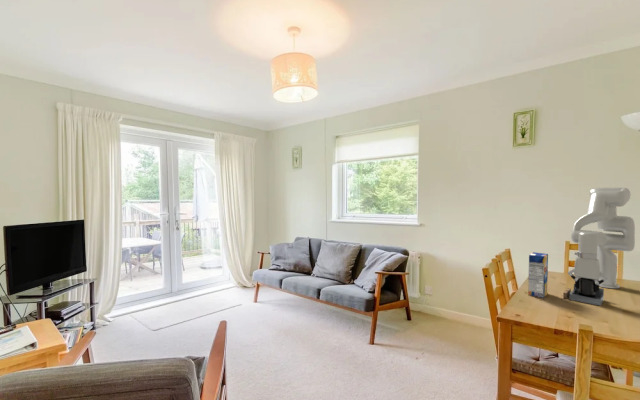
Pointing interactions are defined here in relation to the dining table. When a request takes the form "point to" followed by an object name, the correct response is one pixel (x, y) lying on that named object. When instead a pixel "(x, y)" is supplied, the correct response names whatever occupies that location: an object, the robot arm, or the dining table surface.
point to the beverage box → (538, 274)
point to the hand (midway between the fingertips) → (586, 289)
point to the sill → (566, 293)
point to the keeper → (596, 301)
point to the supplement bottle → (586, 287)
